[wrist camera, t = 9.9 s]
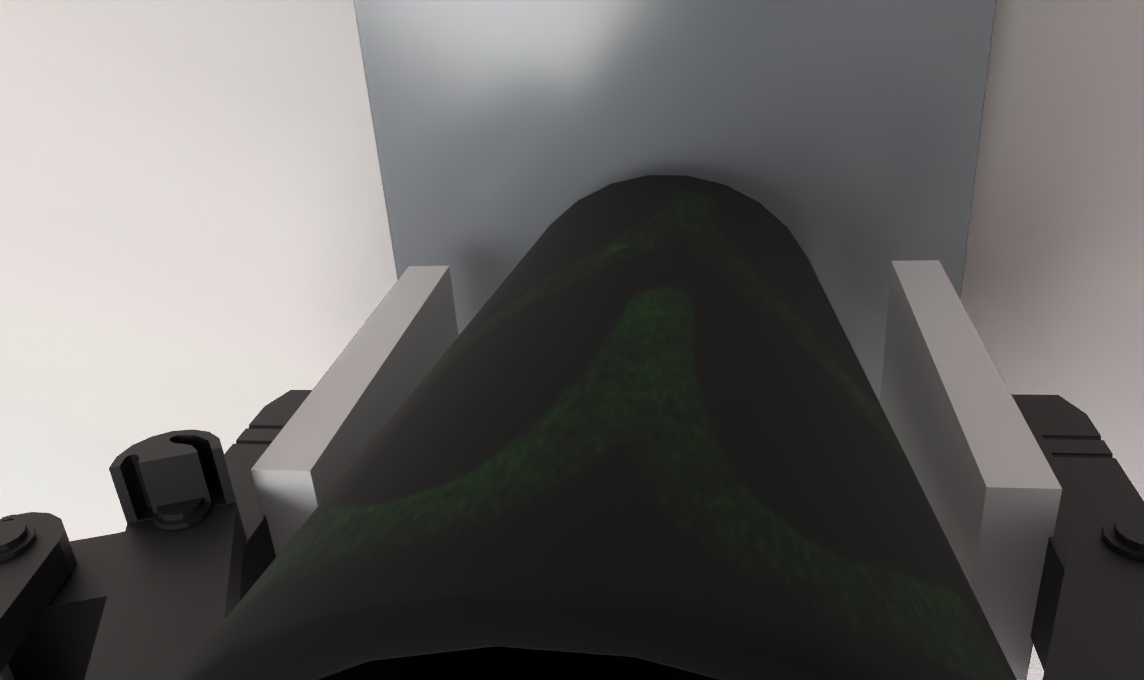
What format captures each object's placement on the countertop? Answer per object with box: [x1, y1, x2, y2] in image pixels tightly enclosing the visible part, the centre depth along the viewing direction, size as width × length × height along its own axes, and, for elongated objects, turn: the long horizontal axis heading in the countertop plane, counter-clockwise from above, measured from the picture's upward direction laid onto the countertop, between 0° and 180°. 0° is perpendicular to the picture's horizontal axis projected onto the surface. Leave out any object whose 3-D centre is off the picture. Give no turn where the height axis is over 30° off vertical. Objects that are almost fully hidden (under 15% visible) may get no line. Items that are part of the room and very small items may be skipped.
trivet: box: [353, 0, 996, 403], centre depth 20 cm, size 12×11×2 cm
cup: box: [176, 175, 1017, 680], centre depth 12 cm, size 8×8×12 cm
